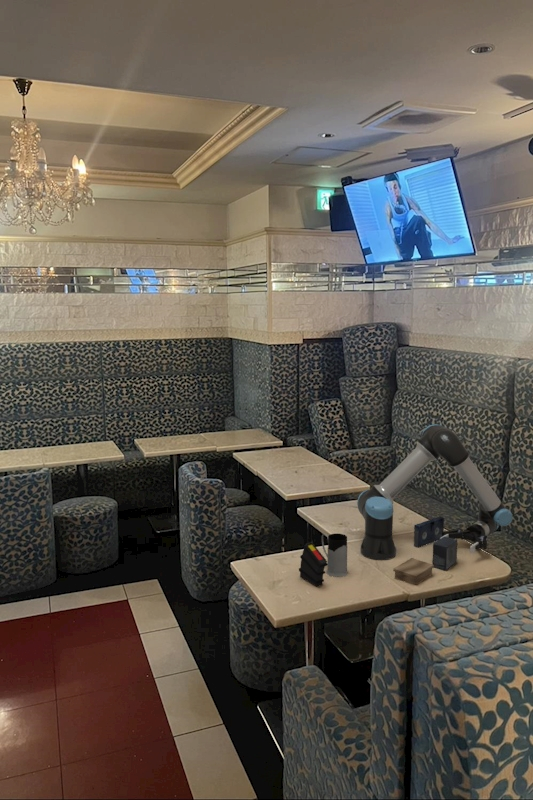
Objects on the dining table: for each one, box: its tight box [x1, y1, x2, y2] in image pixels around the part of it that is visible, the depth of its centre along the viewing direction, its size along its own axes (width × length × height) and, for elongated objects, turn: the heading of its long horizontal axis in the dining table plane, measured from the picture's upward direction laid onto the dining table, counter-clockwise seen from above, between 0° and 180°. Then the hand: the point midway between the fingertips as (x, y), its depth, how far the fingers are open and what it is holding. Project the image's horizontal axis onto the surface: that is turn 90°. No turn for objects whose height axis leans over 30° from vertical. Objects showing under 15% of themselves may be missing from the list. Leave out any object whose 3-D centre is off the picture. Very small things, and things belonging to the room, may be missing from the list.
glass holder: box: [321, 533, 349, 578], centre depth 249 cm, size 9×14×15 cm, turn 33°
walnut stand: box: [392, 557, 434, 586], centre depth 244 cm, size 10×14×4 cm
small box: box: [432, 536, 458, 572], centre depth 254 cm, size 11×6×10 cm, turn 139°
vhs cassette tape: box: [413, 516, 445, 548], centre depth 278 cm, size 18×3×10 cm, turn 126°
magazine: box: [298, 541, 328, 588], centre depth 239 cm, size 4×13×15 cm, turn 34°
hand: (455, 545), depth 260 cm, fingers open, 13 cm apart
